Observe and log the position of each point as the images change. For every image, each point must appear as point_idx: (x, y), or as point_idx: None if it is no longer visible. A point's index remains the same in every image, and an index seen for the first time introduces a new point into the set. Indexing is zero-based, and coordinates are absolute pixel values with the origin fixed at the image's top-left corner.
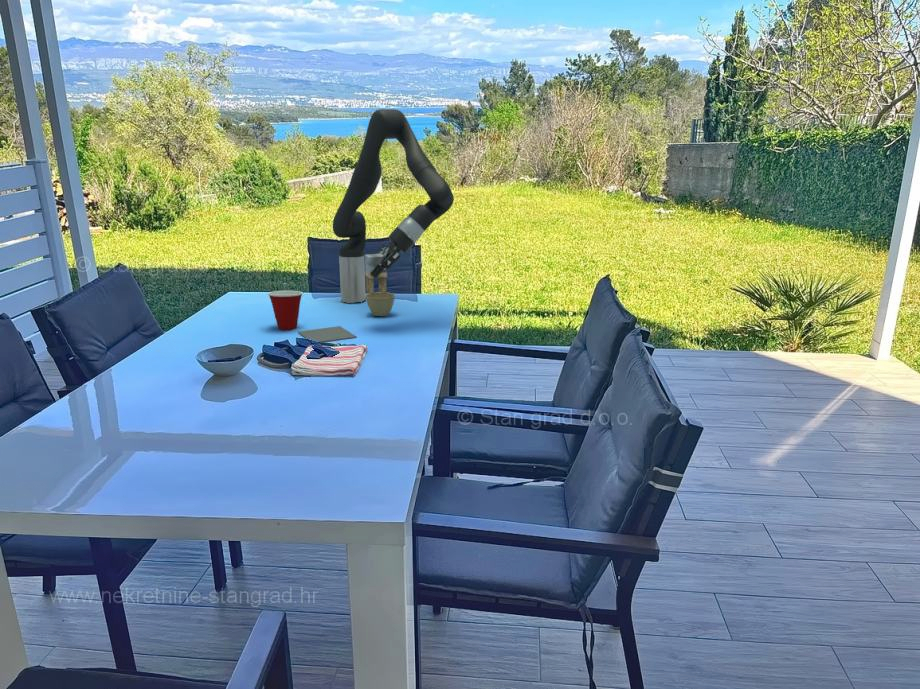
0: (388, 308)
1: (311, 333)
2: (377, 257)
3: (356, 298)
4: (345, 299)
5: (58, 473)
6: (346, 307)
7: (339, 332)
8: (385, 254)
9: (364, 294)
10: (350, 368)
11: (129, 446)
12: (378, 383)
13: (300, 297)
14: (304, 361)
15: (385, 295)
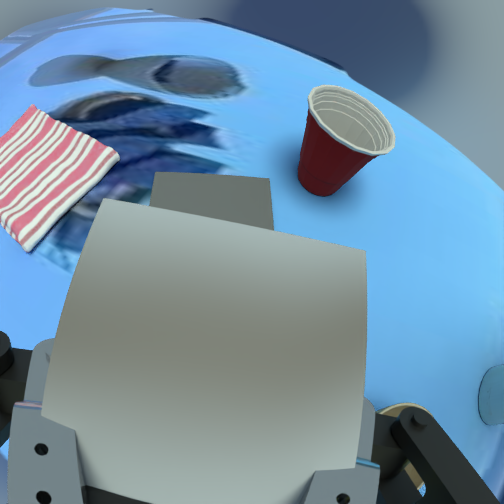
0: None
1: (235, 195)
2: (59, 328)
3: (487, 399)
4: (491, 372)
5: (35, 28)
6: (459, 369)
7: None
8: (10, 459)
9: (497, 420)
10: None
11: (31, 40)
12: None
13: (333, 143)
14: (49, 128)
15: (418, 476)
